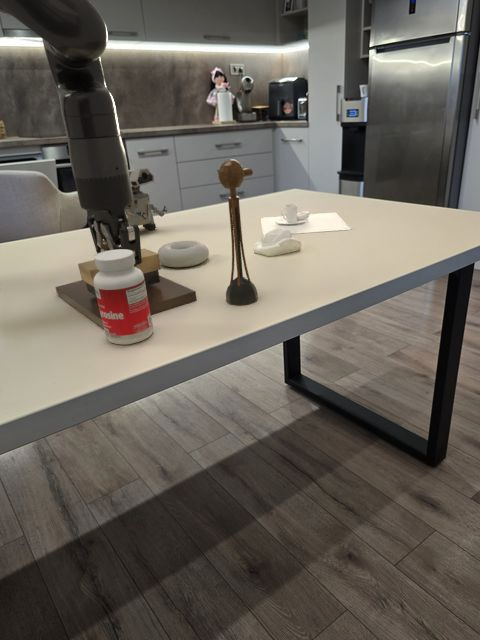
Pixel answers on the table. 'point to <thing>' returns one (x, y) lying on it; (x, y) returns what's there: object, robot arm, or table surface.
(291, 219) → the teacup and saucer
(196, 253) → the donut
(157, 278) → the brush
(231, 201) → the wooden tabletop sculpture
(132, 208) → the figurine
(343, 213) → the table surface
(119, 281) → the pill bottle
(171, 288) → the board
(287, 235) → the white lumpy piece
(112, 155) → the robot arm
